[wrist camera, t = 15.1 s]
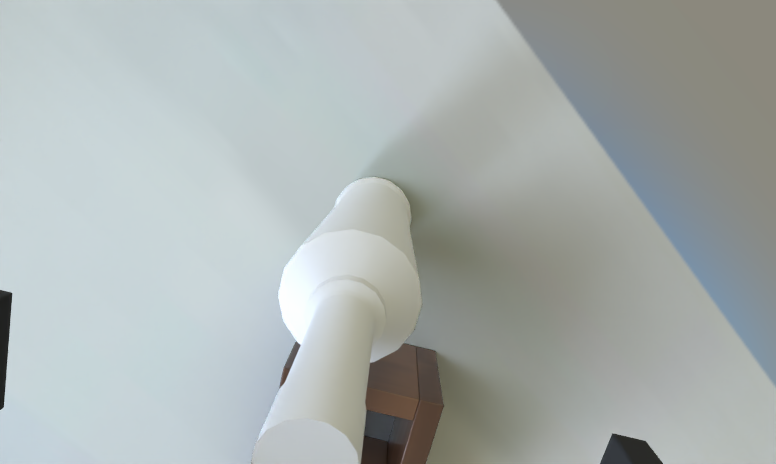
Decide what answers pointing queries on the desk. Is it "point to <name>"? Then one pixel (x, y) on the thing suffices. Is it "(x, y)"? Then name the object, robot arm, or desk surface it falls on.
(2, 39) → the desk surface
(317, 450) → the bottle
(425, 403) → the caddy
